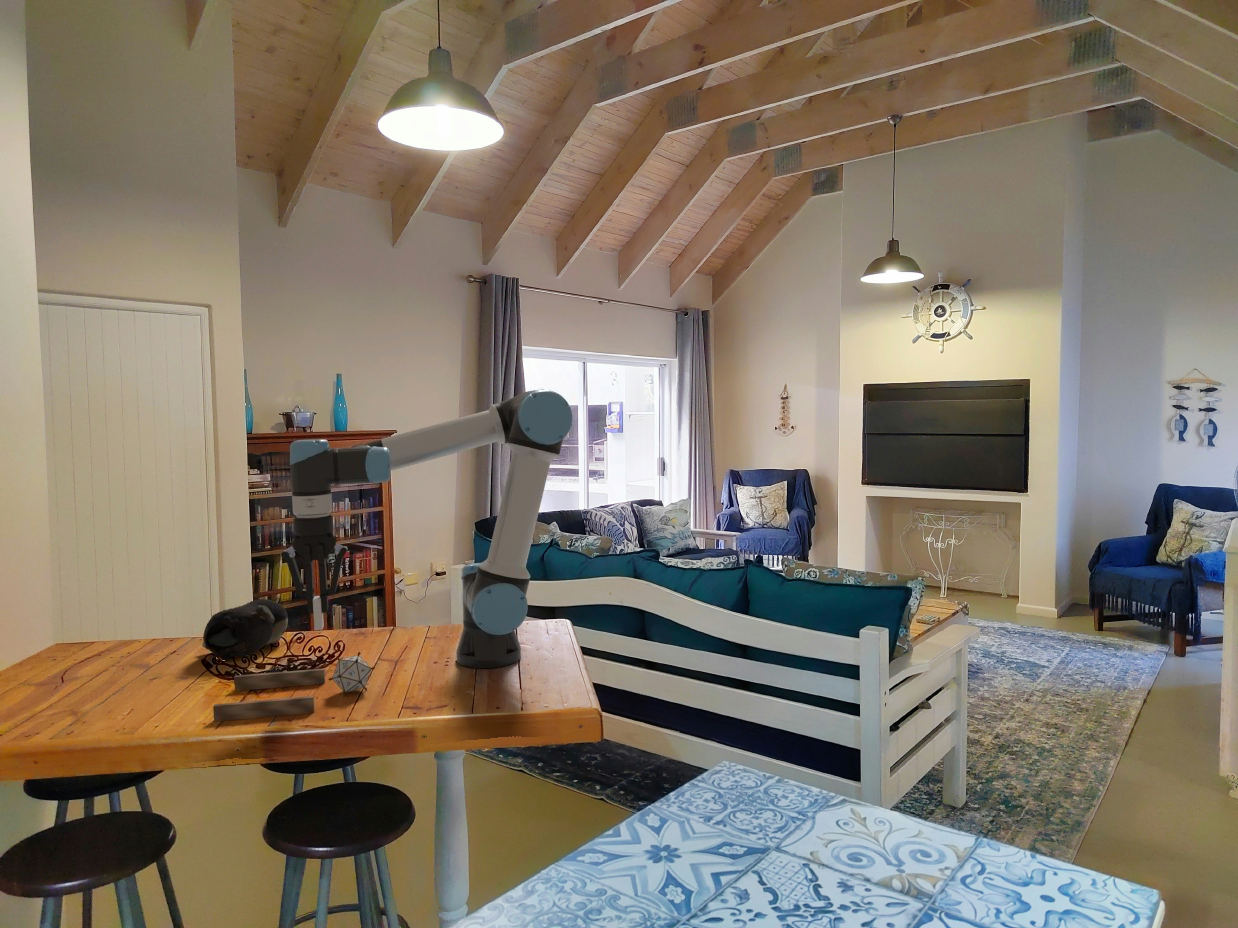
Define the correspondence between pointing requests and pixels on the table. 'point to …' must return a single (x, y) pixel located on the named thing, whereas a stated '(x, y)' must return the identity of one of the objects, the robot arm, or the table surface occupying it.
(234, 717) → the walnut channel
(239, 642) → the black rounded lump
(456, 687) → the table surface
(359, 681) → the game die
